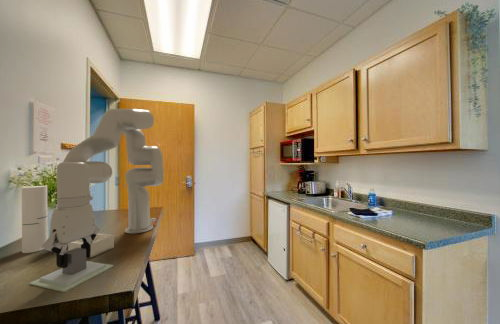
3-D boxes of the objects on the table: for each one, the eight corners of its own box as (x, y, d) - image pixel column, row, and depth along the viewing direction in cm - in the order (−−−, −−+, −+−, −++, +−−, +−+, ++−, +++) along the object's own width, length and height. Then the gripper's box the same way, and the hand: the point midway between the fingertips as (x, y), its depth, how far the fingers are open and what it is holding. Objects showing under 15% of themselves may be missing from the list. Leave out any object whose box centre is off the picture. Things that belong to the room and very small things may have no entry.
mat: (82, 261, 71) (82, 260, 71) (113, 266, 67) (113, 265, 67) (29, 284, 58) (29, 282, 58) (64, 292, 54) (64, 290, 54)
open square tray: (95, 245, 86) (95, 233, 86) (114, 247, 83) (113, 235, 83) (68, 255, 76) (68, 242, 76) (88, 258, 73) (88, 244, 73)
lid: (81, 262, 70) (80, 242, 70) (105, 266, 66) (105, 245, 66) (39, 280, 59) (39, 256, 59) (66, 286, 56) (66, 261, 56)
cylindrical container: (52, 246, 85) (51, 185, 85) (28, 254, 78) (28, 187, 78) (41, 244, 87) (40, 185, 87) (17, 251, 80) (17, 187, 81)
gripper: (93, 197, 72) (93, 249, 72) (28, 207, 56) (29, 275, 55) (109, 198, 70) (110, 251, 70) (47, 209, 53) (48, 279, 53)
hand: (74, 261), depth 63 cm, fingers open, 5 cm apart
